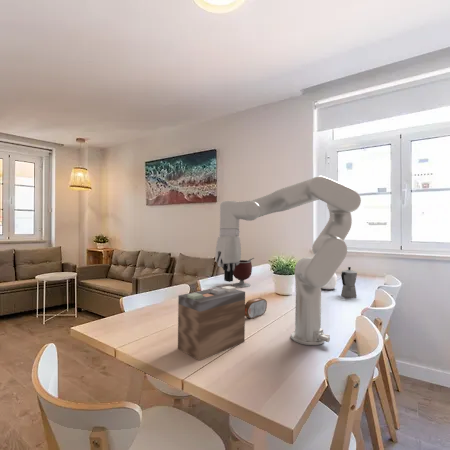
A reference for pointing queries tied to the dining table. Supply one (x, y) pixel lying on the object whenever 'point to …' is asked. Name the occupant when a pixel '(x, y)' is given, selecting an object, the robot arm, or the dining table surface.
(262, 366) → the dining table surface
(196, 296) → the sage key
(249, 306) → the tin
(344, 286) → the coffeepot
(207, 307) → the console
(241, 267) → the mate gourd
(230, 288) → the cream key
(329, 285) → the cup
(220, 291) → the grey key
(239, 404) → the dining table surface
